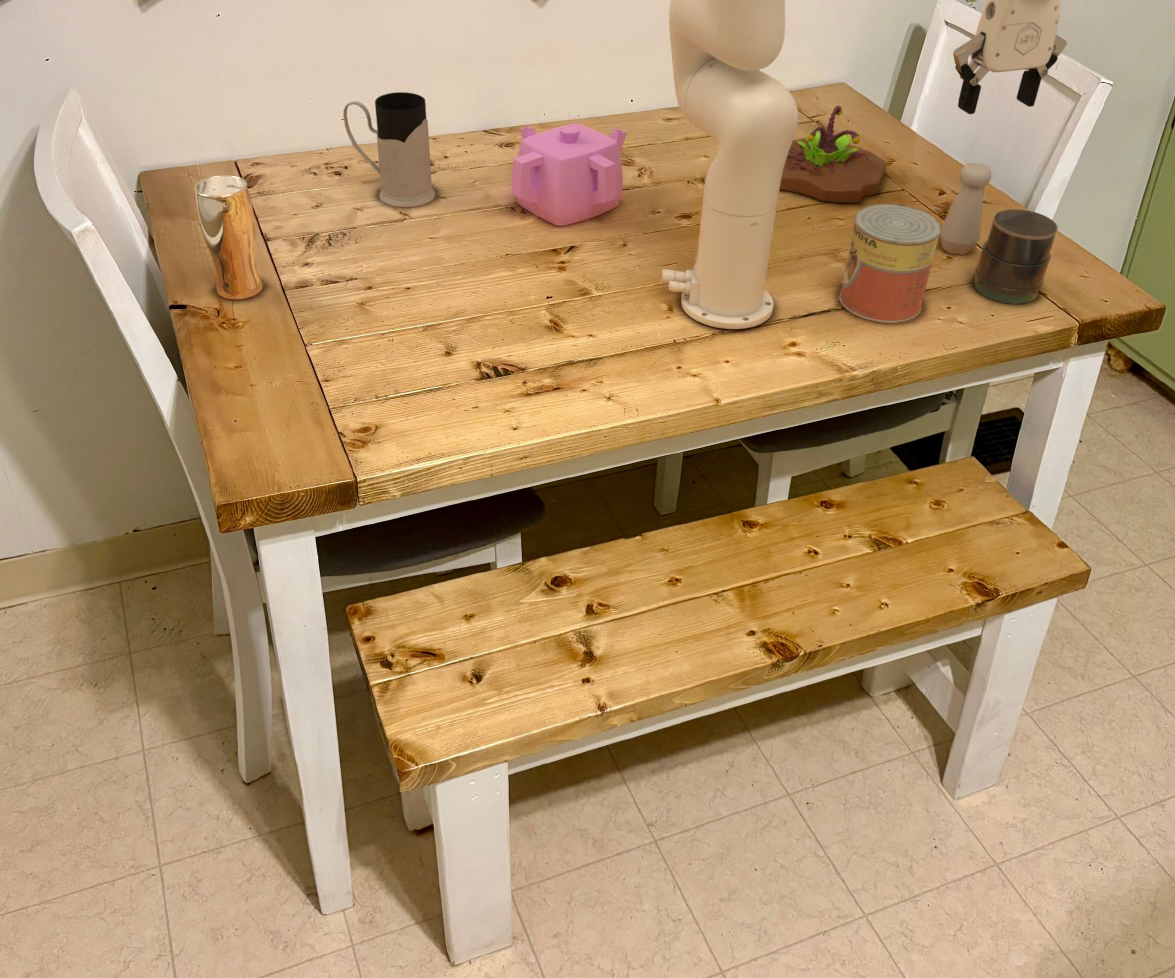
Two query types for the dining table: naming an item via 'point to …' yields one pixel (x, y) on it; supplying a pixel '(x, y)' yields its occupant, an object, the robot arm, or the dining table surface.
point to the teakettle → (568, 173)
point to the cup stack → (1015, 256)
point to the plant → (832, 166)
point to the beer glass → (229, 234)
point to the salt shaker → (966, 211)
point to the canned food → (889, 262)
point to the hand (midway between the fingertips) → (995, 106)
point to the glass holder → (400, 148)
